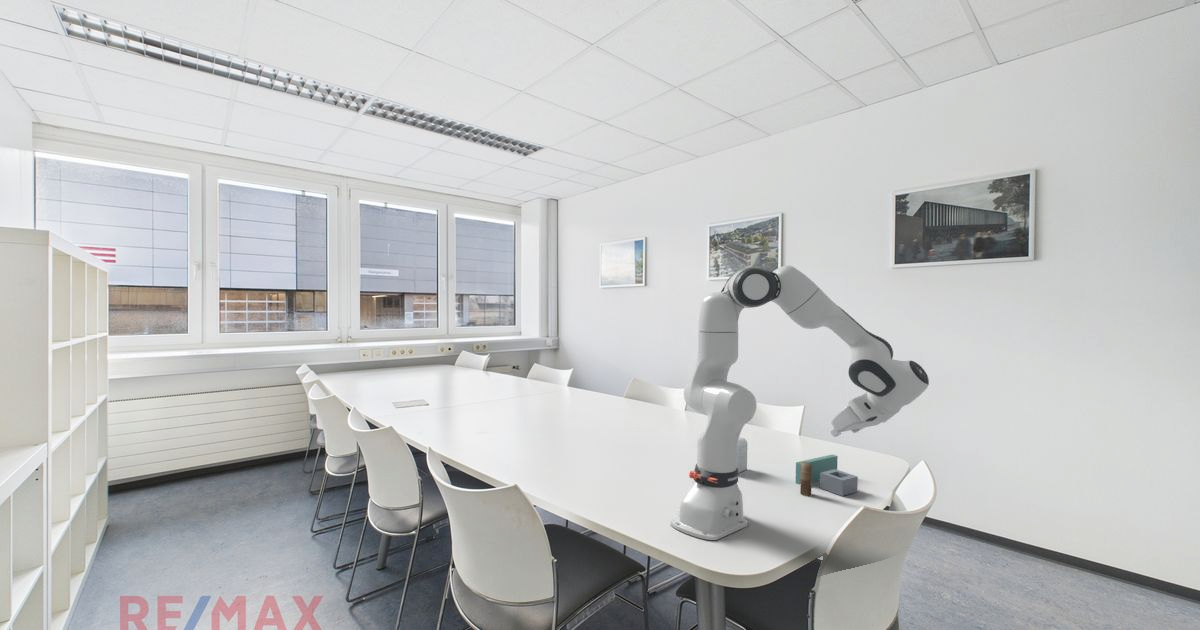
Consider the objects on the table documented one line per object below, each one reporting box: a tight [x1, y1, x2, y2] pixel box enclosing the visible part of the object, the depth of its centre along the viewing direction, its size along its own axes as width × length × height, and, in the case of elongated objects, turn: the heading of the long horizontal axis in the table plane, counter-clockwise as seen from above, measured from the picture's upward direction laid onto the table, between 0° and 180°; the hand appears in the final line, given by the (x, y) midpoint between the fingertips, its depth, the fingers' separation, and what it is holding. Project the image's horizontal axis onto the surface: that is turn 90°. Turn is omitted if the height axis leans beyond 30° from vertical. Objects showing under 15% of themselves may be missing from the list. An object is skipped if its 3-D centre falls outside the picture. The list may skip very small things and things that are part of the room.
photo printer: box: [737, 436, 748, 474], centre depth 173 cm, size 10×4×12 cm, turn 134°
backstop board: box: [795, 454, 839, 485], centre depth 166 cm, size 2×20×7 cm, turn 119°
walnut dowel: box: [799, 462, 812, 497], centre depth 152 cm, size 3×3×10 cm
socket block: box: [819, 469, 859, 497], centre depth 156 cm, size 8×8×5 cm
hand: (843, 432), depth 141 cm, fingers open, 8 cm apart
